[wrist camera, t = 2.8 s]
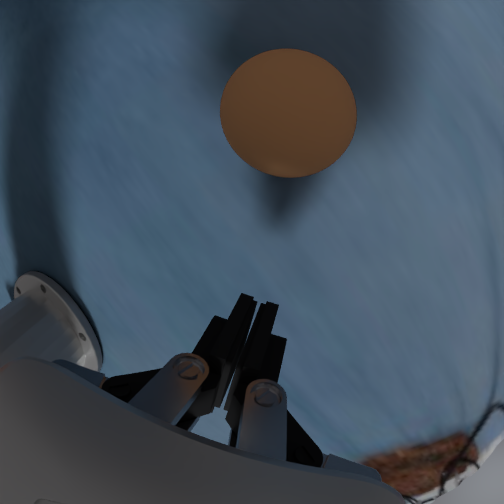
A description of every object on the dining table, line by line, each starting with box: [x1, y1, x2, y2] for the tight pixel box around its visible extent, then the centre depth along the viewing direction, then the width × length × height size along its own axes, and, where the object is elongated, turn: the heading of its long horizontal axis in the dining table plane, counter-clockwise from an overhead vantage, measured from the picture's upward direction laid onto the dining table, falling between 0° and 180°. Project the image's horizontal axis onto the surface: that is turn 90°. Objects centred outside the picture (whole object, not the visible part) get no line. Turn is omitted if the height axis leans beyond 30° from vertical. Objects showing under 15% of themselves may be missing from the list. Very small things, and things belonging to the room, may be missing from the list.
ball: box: [220, 49, 357, 178], centre depth 10 cm, size 6×6×6 cm
